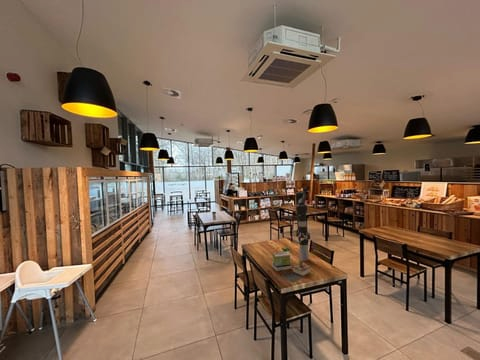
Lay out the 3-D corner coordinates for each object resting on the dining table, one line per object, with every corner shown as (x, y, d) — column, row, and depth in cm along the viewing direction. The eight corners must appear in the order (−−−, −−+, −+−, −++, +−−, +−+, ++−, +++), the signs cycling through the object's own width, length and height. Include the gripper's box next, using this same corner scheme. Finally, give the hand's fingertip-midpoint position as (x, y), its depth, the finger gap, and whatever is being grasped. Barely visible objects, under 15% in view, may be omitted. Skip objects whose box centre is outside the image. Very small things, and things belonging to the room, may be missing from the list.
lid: (292, 267, 195) (291, 260, 195) (300, 263, 202) (299, 256, 202) (302, 271, 185) (302, 264, 185) (310, 267, 192) (310, 260, 192)
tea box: (276, 271, 198) (275, 256, 198) (273, 267, 208) (272, 253, 208) (290, 269, 201) (290, 254, 201) (286, 265, 211) (285, 251, 211)
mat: (279, 277, 186) (279, 276, 186) (290, 272, 195) (290, 271, 195) (292, 283, 174) (292, 283, 174) (303, 277, 183) (303, 277, 183)
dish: (293, 272, 195) (293, 267, 195) (300, 268, 201) (300, 263, 201) (303, 276, 186) (302, 271, 186) (310, 272, 193) (309, 267, 193)
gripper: (294, 225, 198) (294, 241, 199) (306, 227, 187) (307, 244, 187) (298, 223, 203) (299, 239, 203) (311, 226, 191) (312, 242, 192)
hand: (303, 242), depth 195 cm, fingers open, 8 cm apart
